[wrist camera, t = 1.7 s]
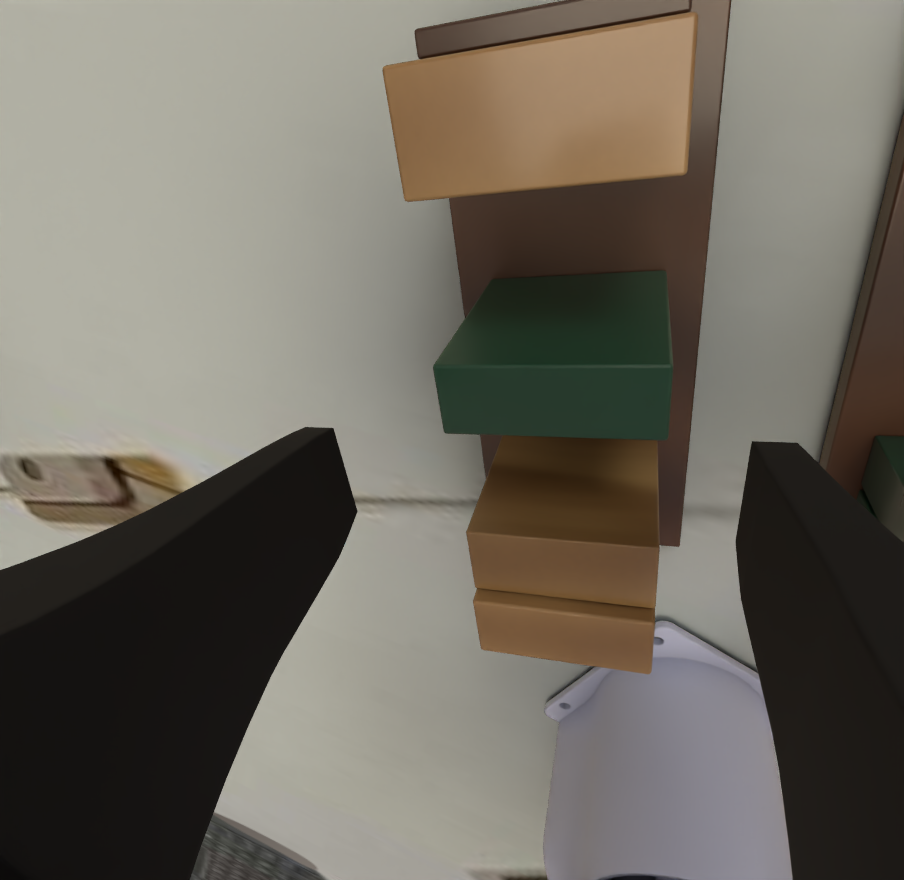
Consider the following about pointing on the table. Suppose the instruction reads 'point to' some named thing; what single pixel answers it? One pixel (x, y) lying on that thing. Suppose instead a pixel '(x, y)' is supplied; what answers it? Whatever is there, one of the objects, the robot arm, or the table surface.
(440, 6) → the table surface
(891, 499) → the green rack
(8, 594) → the robot arm
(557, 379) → the green book
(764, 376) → the table surface
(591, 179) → the tan rack
